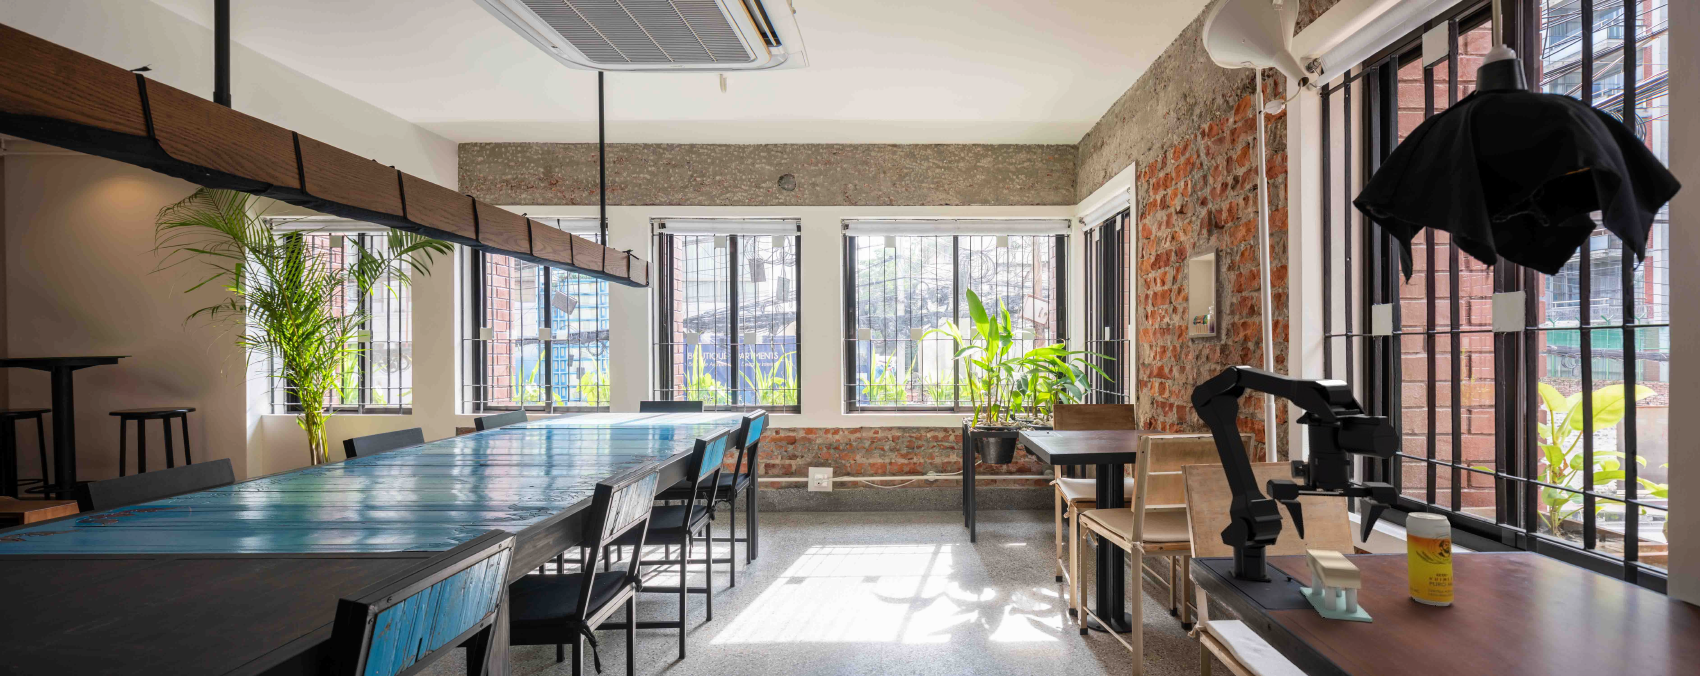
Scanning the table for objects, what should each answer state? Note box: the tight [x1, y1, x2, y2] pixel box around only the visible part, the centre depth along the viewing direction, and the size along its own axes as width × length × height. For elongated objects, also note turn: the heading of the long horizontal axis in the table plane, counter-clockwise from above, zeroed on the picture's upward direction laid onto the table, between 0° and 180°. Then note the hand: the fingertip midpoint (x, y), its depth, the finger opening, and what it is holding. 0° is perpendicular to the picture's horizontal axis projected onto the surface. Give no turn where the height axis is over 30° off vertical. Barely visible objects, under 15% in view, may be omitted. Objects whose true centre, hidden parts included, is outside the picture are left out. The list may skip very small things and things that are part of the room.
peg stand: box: [1299, 570, 1373, 623], centre depth 123 cm, size 14×7×5 cm, turn 160°
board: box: [1305, 548, 1362, 589], centre depth 123 cm, size 12×5×3 cm, turn 160°
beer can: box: [1405, 511, 1454, 607], centre depth 124 cm, size 6×6×15 cm
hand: (1332, 540), depth 123 cm, fingers open, 9 cm apart
